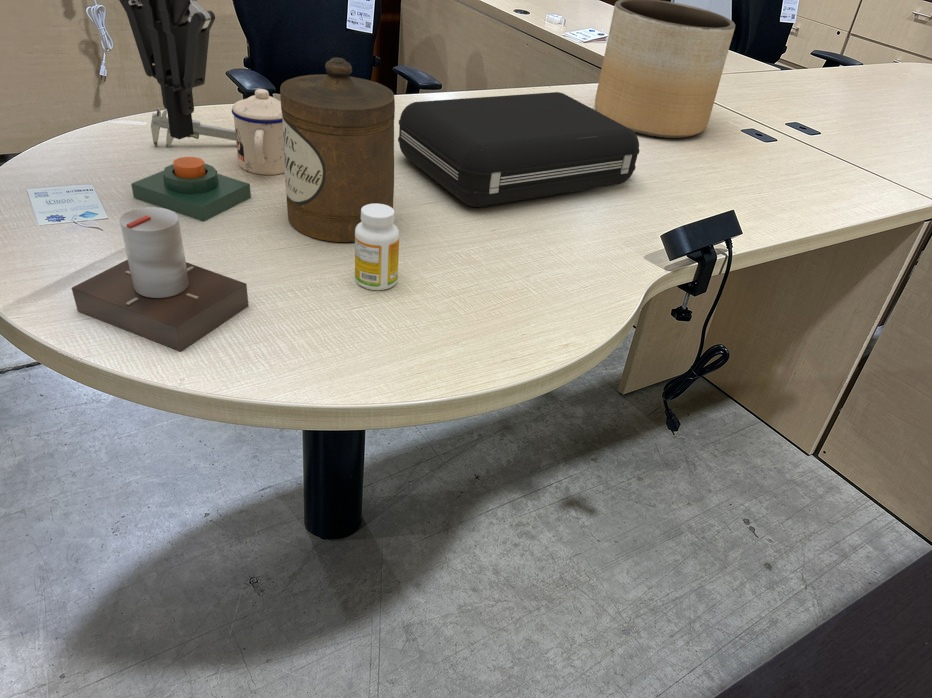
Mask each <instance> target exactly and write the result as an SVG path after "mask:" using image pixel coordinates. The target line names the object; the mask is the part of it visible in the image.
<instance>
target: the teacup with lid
mask: <svg viewBox="0 0 932 698" xmlns="http://www.w3.org/2000/svg"><path fill="white" fill-rule="evenodd" d="M231 114H232V115H233V122H234V130H235V133H236V140H235V141H236V153H237V160H238V161H237V163H238V165H239V167H240V168H241V169H243V170H244V171H246V172H248V173H251V174H256V175H263V176H275V175H281V174H285V169H284V143H283V121H282V110H281V100H279V99H277V98H275V97H273V96H271V95H270V93H269V91H268V90H267V89H264V88H257V89H256V90H254V95H251V96H249V97H247V98H243V99H239V100H237V101H236V102H234V104H233V105H232V107H231Z"/></svg>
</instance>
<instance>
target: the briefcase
mask: <svg viewBox="0 0 932 698" xmlns="http://www.w3.org/2000/svg"><path fill="white" fill-rule="evenodd" d="M398 125H399V128H398V129H399V132H398V137H397V142H398V144H399V149H400V151H401V153H402V155H403V156H404V157H405V158H406V159H407V160H408V161H410V162H411V163H412V164H414V165H415V166H416V167H417V168H418V169H420V170H421V171H422V172H423V173H425V174H426V175H428V176H429V178H431V179H433V180H434V181H435V182H436V183H438V184H439V185H440V186H441V187H443V188H444V189H445V190H447V191H448V192H449V193H450V194H452V195H453V197H455V198H457V199H458V200H459V201H460V202H462V203H463V204H464V205H466V206H468V207H472V208H480V207H487V206H493V205H499V204H507V203H511V202H512V203H513V202H518V201H519V202H520V201H524V200H530V199H538V198H542V197H549V196H550V197H551V196H555V195H560V194H561V195H562V194H568V193H575V192H581V191H587V190H594V189H599V188H606V187H611V186H617V185H622V184H624V183H626V182H627V181H628V180H629V179H630V178H631V177H632V175H633V173H634V172H635V170H636V167H637V166H636V163H637V159H638V156H639V154H640V141H639V138H638V135H637V133H635V132H633V131H632V130H631V129H629V128H627V127H625V126H624V125H622V124H620V123H618V122H616V121H614V120H612V119H610V118H609V117H607V116H605V115H603V114H601V113H599V112H598V111H597V110H596V109H595V108H591V107H590V106H588V105H586V104H584V103H582V102H581V101H579V100H576V99H575V98H573V97H571V96H569V95H567V94H565V93H563V92H559V91H553V92H540V93H525V94H524V93H522V94H510V95H509V94H508V95H494V96H480V97H468V98H467V97H466V98H455V99H454V98H451V99H439V100H438V99H437V100H422V101H414V102H411V103H409V104H408V105H406V106H405V108H403V110H402V112H401V114H400V118H399V120H398Z"/></svg>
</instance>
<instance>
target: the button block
mask: <svg viewBox="0 0 932 698" xmlns="http://www.w3.org/2000/svg"><path fill="white" fill-rule="evenodd" d="M204 164H205V172H206V174H205V175H204V176H202V177H197V178H181V177H178V176H176V175H175V171H174V165H173V163H172V164H170V165H167V166H165V167H164V169H163V170H161V171H158V172H156V173H153V174H151V175H149V176H147V177H144V178H141V179H139V180H136V181H134V182H131V183H130V185H131V191H132V195H133V198H134V199H136V200H139V201H142V202H143V203H144V202H145V203H147V204H150V205H154V206H155V207H158V208H164V209H168V210H171V211H173V212H175V213H176V214H179V215H183V216H186V217H188V218H192V219H194V220H197V221H200V222H206V221H208V220H210V219H212V218H214V217H215V216H216V217H217V215H220V214H221V213H224V212H225V211H228V210H230V209H231V208H234V207H235V206H237V205H240V204H242V203H244V202H246V201H247V200H249V199H251V198H252V193H251V184H250V183H248V182H245V181H242V180H240V179H236V178H232V177H229V176H226V175H223V174H220V173H218V170H217V169H216V168H215V167H214V166H213V165H210V164H208V163H204Z"/></svg>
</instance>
